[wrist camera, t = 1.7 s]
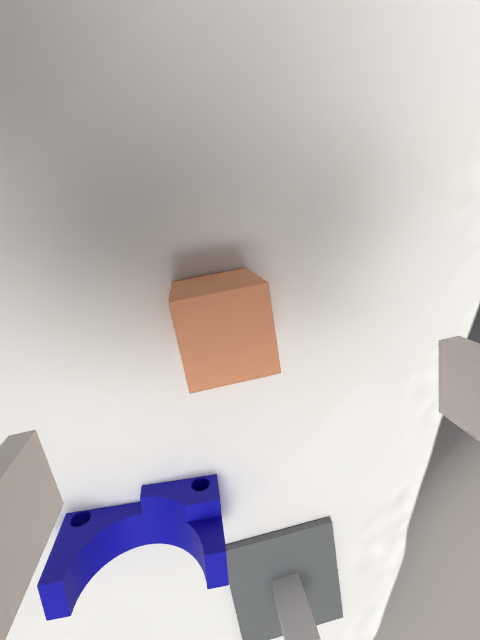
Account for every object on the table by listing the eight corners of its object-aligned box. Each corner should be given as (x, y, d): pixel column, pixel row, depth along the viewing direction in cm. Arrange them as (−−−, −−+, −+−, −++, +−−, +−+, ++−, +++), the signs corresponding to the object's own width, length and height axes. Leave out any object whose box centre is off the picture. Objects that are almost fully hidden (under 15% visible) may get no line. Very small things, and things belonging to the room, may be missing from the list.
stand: (221, 546, 31) (229, 619, 25) (329, 516, 32) (361, 580, 26) (243, 640, 34) (255, 723, 28) (340, 610, 35) (371, 685, 29)
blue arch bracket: (216, 472, 29) (224, 533, 23) (220, 516, 30) (228, 585, 25) (63, 495, 27) (32, 567, 22) (74, 541, 29) (46, 620, 23)
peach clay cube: (172, 281, 24) (168, 302, 18) (245, 267, 25) (268, 282, 18) (188, 351, 26) (189, 393, 19) (257, 336, 26) (281, 373, 20)
